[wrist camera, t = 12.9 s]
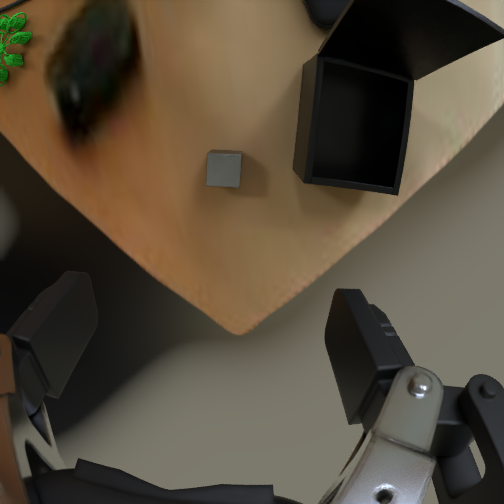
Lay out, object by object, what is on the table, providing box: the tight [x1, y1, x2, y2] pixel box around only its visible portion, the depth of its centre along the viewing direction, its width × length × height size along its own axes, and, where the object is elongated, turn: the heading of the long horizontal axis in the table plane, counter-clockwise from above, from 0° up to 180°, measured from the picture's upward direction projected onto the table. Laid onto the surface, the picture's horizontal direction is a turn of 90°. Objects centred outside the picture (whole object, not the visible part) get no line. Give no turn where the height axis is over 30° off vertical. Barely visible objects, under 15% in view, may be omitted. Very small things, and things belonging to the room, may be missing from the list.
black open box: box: [293, 53, 414, 196], centre depth 36 cm, size 16×13×9 cm
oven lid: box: [318, 0, 504, 80], centre depth 20 cm, size 17×13×5 cm
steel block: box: [206, 150, 242, 188], centre depth 40 cm, size 4×4×4 cm
